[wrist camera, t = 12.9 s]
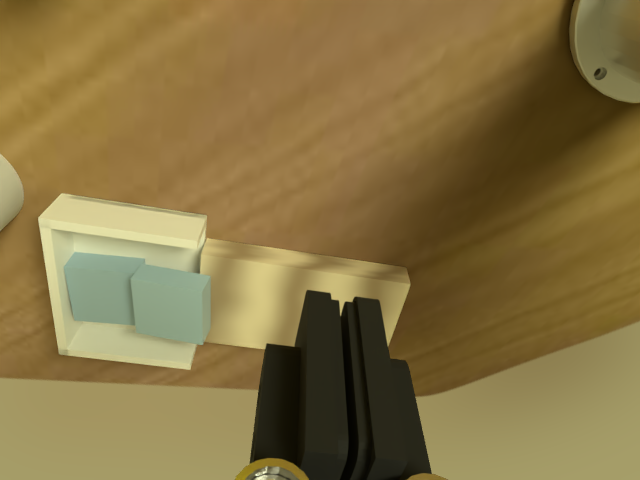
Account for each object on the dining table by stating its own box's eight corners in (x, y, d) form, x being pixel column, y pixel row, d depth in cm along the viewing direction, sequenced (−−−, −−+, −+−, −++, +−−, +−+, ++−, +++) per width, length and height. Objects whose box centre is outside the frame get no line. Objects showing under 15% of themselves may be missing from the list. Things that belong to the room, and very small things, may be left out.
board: (406, 267, 44) (410, 284, 42) (378, 345, 49) (381, 363, 47) (206, 238, 42) (201, 254, 40) (200, 322, 47) (195, 340, 45)
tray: (207, 215, 41) (197, 241, 37) (198, 339, 48) (190, 369, 45) (61, 193, 39) (38, 217, 36) (77, 323, 47) (59, 354, 44)
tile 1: (145, 258, 42) (137, 273, 40) (149, 310, 45) (142, 326, 44) (74, 251, 42) (63, 266, 40) (84, 304, 45) (74, 320, 43)
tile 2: (210, 275, 41) (202, 291, 39) (210, 328, 44) (202, 345, 42) (142, 263, 41) (130, 278, 39) (146, 316, 44) (136, 332, 42)
